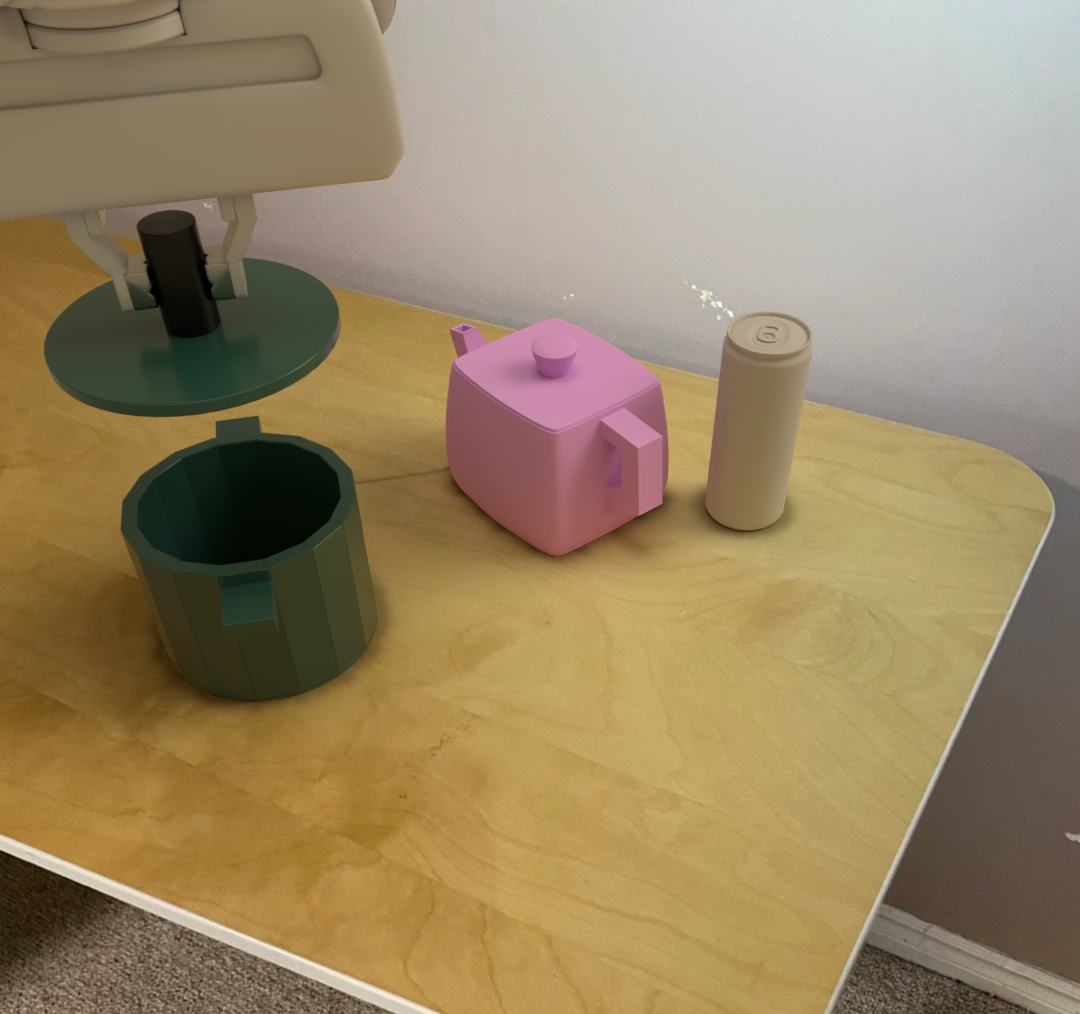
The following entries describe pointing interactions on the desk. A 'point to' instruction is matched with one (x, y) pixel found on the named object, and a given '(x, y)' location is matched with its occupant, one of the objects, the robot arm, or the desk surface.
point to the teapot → (555, 433)
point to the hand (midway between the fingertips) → (186, 299)
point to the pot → (253, 562)
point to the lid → (191, 333)
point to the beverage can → (757, 418)
